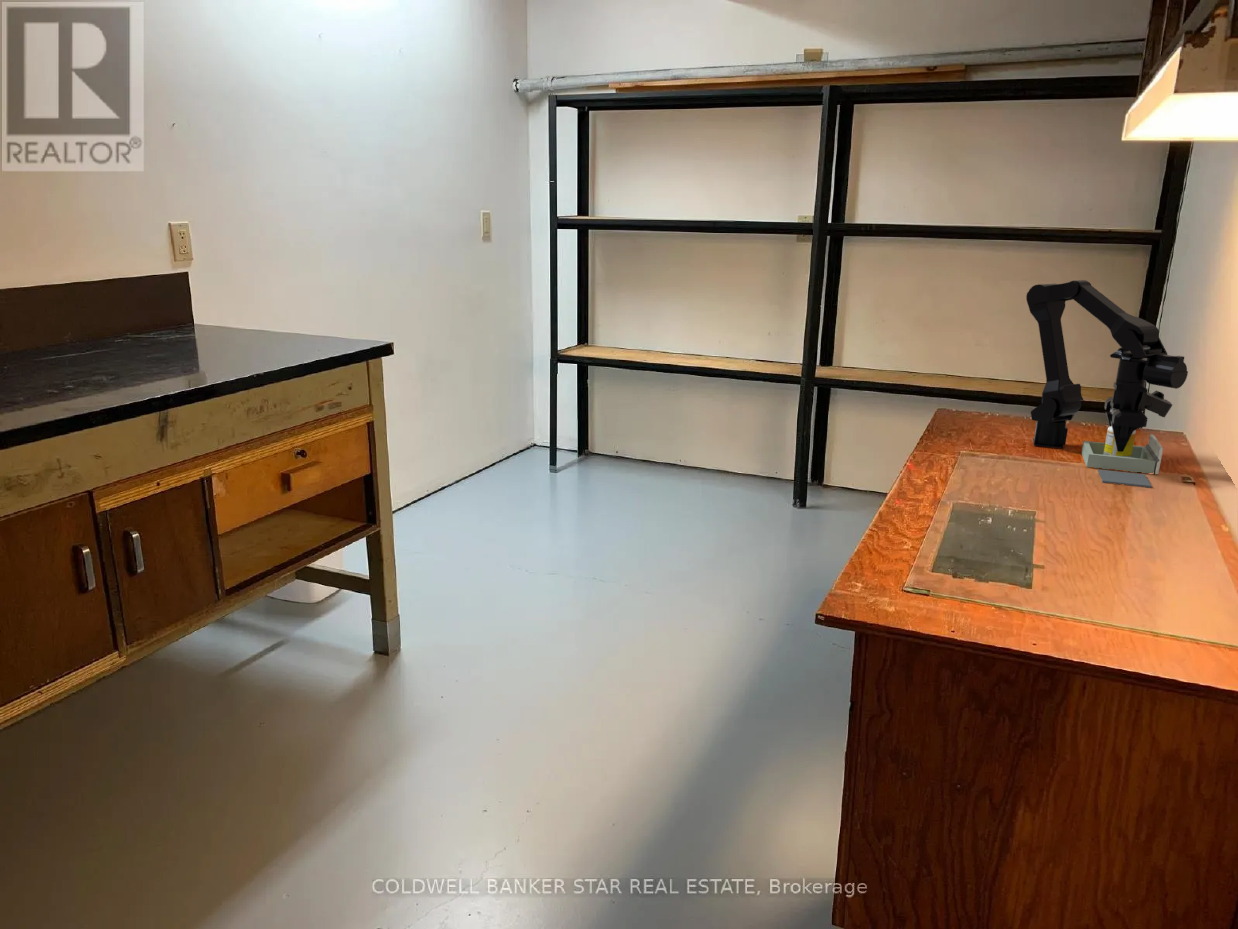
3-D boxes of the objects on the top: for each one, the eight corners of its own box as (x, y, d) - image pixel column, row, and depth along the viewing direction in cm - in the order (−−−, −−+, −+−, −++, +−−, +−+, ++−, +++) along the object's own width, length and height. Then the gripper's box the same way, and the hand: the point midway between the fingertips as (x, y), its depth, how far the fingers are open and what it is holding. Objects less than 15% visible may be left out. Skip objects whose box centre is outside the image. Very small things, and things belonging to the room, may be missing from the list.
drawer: (1086, 467, 192) (1091, 441, 190) (1081, 452, 203) (1085, 428, 202) (1158, 474, 187) (1163, 448, 185) (1148, 459, 198) (1153, 434, 197)
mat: (1102, 482, 181) (1102, 480, 181) (1097, 471, 189) (1098, 469, 189) (1151, 487, 178) (1151, 486, 178) (1144, 476, 186) (1144, 474, 186)
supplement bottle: (1134, 463, 195) (1142, 420, 192) (1123, 468, 191) (1132, 423, 189) (1108, 458, 199) (1115, 415, 196) (1097, 462, 196) (1105, 419, 193)
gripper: (1181, 391, 179) (1167, 462, 183) (1165, 376, 195) (1152, 442, 199) (1120, 386, 183) (1108, 457, 187) (1109, 372, 199) (1098, 437, 204)
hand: (1118, 448), depth 194 cm, fingers closed on supplement bottle, 5 cm apart
